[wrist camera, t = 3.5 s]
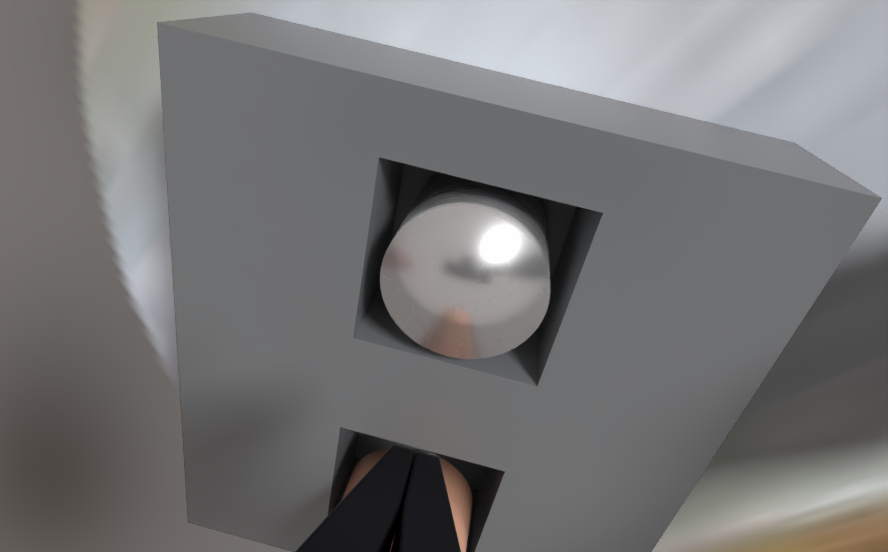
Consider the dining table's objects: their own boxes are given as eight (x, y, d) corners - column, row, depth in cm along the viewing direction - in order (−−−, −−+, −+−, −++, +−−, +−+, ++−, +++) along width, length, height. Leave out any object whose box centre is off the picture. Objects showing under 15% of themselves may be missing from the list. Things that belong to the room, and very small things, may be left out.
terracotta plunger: (485, 467, 20) (473, 571, 16) (457, 546, 22) (442, 652, 19) (358, 433, 20) (319, 528, 16) (344, 515, 22) (308, 613, 19)
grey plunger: (567, 184, 17) (573, 235, 14) (526, 306, 20) (523, 376, 16) (422, 148, 18) (393, 189, 14) (399, 274, 20) (369, 335, 16)
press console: (795, 143, 17) (881, 198, 13) (587, 531, 27) (596, 636, 23) (251, 12, 18) (157, 22, 13) (243, 437, 28) (188, 522, 23)
